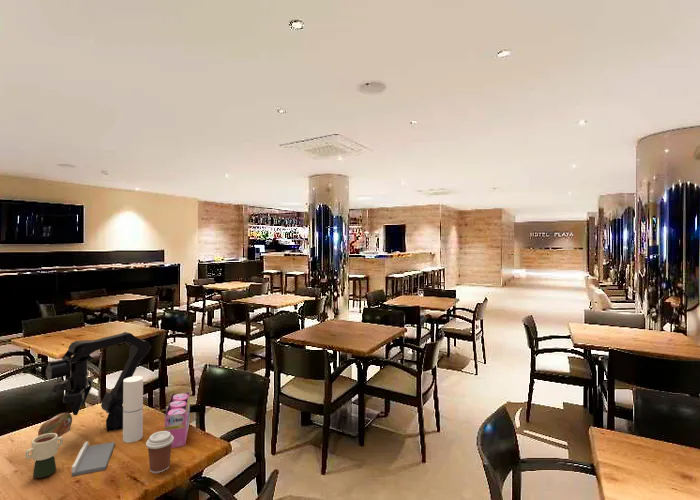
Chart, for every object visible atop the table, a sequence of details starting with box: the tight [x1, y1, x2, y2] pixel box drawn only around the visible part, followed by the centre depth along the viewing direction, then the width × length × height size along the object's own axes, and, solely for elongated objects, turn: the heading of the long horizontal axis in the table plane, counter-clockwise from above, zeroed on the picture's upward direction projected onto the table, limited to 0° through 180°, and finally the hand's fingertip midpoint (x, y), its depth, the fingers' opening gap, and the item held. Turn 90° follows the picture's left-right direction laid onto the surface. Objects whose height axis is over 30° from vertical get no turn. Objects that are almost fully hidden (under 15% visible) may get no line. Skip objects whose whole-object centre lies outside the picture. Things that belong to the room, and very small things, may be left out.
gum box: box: [164, 391, 191, 449], centre depth 159 cm, size 24×8×14 cm, turn 19°
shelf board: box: [71, 440, 116, 477], centre depth 139 cm, size 10×18×3 cm, turn 23°
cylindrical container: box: [122, 375, 144, 444], centre depth 155 cm, size 7×7×25 cm
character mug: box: [25, 433, 64, 478], centre depth 130 cm, size 11×7×13 cm, turn 151°
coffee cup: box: [145, 430, 174, 474], centre depth 135 cm, size 9×9×12 cm
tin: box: [37, 412, 73, 437], centre depth 155 cm, size 15×3×8 cm, turn 179°
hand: (78, 410), depth 151 cm, fingers open, 9 cm apart
